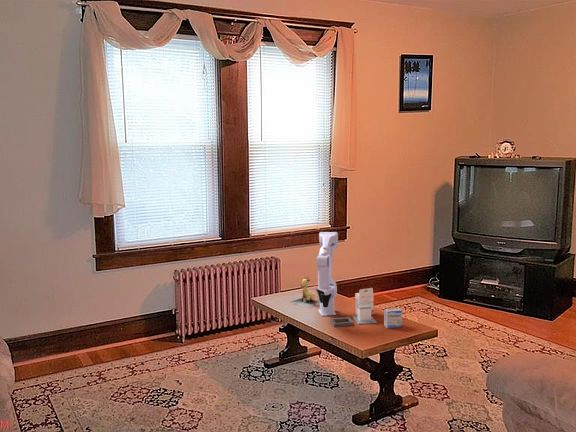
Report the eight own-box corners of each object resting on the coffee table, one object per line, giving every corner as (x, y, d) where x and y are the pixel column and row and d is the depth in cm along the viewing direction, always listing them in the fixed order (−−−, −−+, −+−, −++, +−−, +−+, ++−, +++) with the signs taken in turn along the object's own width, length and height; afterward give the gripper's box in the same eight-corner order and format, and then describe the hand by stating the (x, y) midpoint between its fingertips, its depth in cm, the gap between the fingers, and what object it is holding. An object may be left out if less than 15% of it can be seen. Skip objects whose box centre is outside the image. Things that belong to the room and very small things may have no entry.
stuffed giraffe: (289, 302, 323) (289, 275, 321) (311, 297, 335) (312, 270, 333) (308, 309, 312) (309, 281, 309) (331, 303, 324) (332, 276, 321)
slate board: (352, 317, 295) (352, 316, 295) (370, 316, 296) (370, 315, 296) (358, 324, 284) (358, 323, 284) (376, 323, 285) (376, 321, 285)
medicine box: (387, 328, 277) (387, 311, 276) (383, 325, 282) (383, 309, 280) (402, 327, 279) (402, 310, 277) (398, 324, 283) (398, 307, 282)
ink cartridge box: (369, 312, 303) (369, 285, 301) (373, 314, 298) (373, 287, 296) (355, 314, 300) (354, 287, 298) (359, 317, 295) (359, 289, 293)
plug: (357, 318, 291) (357, 305, 290) (368, 317, 292) (368, 304, 291) (359, 320, 288) (359, 307, 286) (371, 319, 288) (371, 306, 287)
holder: (330, 321, 289) (330, 318, 289) (349, 320, 291) (349, 317, 291) (334, 326, 282) (334, 323, 281) (353, 325, 283) (353, 322, 283)
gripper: (334, 282, 278) (335, 308, 280) (328, 274, 292) (328, 300, 294) (320, 282, 277) (321, 309, 279) (314, 275, 291) (315, 301, 293)
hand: (323, 304), depth 286 cm, fingers open, 7 cm apart
